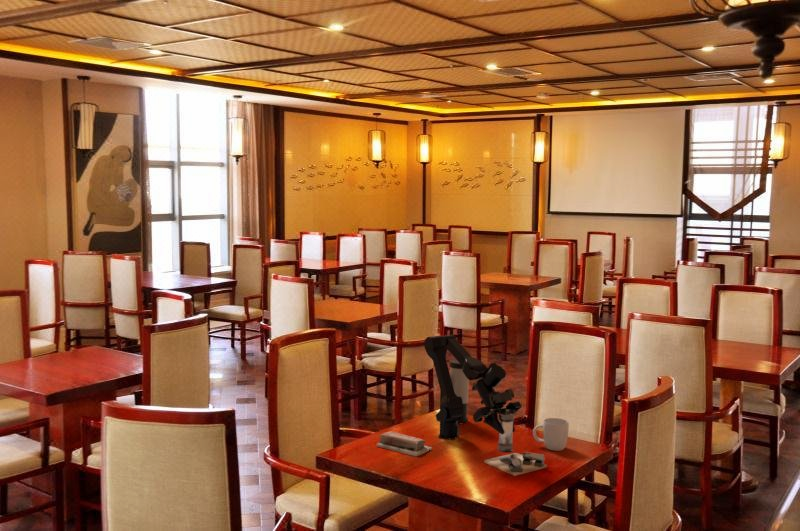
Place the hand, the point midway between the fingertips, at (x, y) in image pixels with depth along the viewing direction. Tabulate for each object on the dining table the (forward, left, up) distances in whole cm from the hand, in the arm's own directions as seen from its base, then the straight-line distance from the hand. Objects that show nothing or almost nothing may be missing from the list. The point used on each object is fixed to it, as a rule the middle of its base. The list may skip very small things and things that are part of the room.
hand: (508, 432), depth 263 cm
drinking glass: (-1, +1, -7) cm, 7 cm away
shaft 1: (+4, -8, -10) cm, 14 cm away
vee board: (+3, -2, -10) cm, 11 cm away
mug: (+12, +21, -10) cm, 26 cm away
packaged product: (-38, 0, -11) cm, 40 cm away
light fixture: (-29, +40, -10) cm, 51 cm away
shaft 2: (+9, -1, -10) cm, 14 cm away
